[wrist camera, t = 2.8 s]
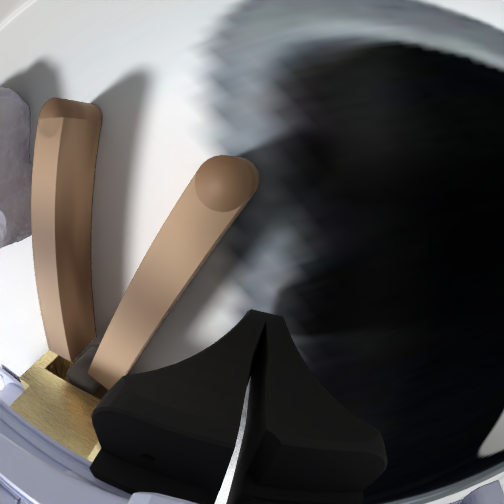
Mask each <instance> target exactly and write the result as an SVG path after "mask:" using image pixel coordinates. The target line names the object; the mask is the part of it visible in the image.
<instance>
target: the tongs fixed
mask: <svg viewBox="0 0 504 504" xmlns="http://www.w3.org/2000/svg"><path fill="white" fill-rule="evenodd" d="M101 123H102V112H101V110H100V108H99V107H98V106H97V105H94V104H89V103H84V102H78V101H73V100H67V99H60V98H52V99H50V100H48V101H47V102H46V103H45V105H44V106H43V108H42V110H41V112H40V115H39V119H38V126H37V132H36V140H35V149H34V159H33V171H32V192H31V224H32V245H33V258H34V268H35V277H36V285H37V292H38V298H39V304H40V310H41V315H42V320H43V325H44V330H45V334H46V339H47V343H48V347H49V350H50V351H52V352H54V353H56V354H57V355H59V356H61V357H63V358H65V359H66V360H68V361H70V362H72V361H73V360H74V359H75V358H76V357H77V355H78V354H79V353H80V352H81V351H82V350H83V349H84V348H85V347H86V346H87V345H88V344H89V343H90V342H91V341H92V340H93V339H94V338H95V337H96V331H95V322H94V312H93V299H92V282H91V214H92V197H93V184H94V173H95V164H96V156H97V149H98V142H99V135H100V129H101ZM98 348H99V346H98V345H93V346H91V347H90V348H89V349H88V350H87V351H86V352H85V353H84V354H83V355H82V356H81V357H80V358H79V359H78V360H77V361H76V362H75V363H74V364H73V366H72V367H71V368H70V369H69V370H68V371H67V372H66V378H65V379H64V380H65V381H66V382H68V383H70V384H72V385H73V386H75V387H77V388H79V389H81V390H83V391H85V392H87V393H89V394H91V395H93V396H95V397H97V398H99V399H101V400H102V398H103V397H104V395H105V394H106V393H107V392H108V389H107V388H105V387H104V386H103V385H101V384H100V383H99V382H98V381H96V380H95V379H94V378H93V377H91V376H90V375H89V374H88V370H89V368H90V366H91V363H92V361H93V359H94V357H95V354H96V352H97V350H98Z"/></svg>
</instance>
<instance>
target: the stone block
mask: <svg viewBox="0 0 504 504" xmlns="http://www.w3.org/2000/svg"><path fill="white" fill-rule="evenodd" d="M29 138H30V110H29V105H27V104H26V103H25V102H24V101H23V100H22V98H21V97H20V96H19V95H18V94H17V93H16V92H15V91H13V90H11V89H10V88H4V87H1V86H0V248H2V247H4V246H7V245H10V244H13V243H14V242H19V241H21V240H23V239H25V238H27V237H29V236H31V235H32V224H31V192H32V171H33V168H32V165H31V163H30V157H29Z"/></svg>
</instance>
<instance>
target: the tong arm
mask: <svg viewBox="0 0 504 504" xmlns="http://www.w3.org/2000/svg"><path fill="white" fill-rule="evenodd" d="M259 183H260V176H259V172H258V170H257V168H256V166H255V165H254V164H253V163H252V162H251V161H249V160H248V159H246V158H243V157H235V156H225V155H220V156H215V157H212V158H210V159H208V160H207V161H205V162H204V163H203V164H202V165H201V166H200V168H199V169H198V171H197V172H196V174H195V175H194V177H193V178H192V180H191V181H190V183H189V184H188V186H187V187H186V189H185V190H184V192H183V194H182V195H181V197H180V198H179V200H178V201H177V203H176V205H175V206H174V208H173V209H172V211H171V213H170V214H169V216H168V218H167V219H166V221H165V223H164V224H163V226H162V227H161V229H160V231H159V233H158V234H157V236H156V238H155V239H154V241H153V243H152V245H151V246H150V248H149V250H148V252H147V253H146V255H145V257H144V259H143V260H142V262H141V264H140V266H139V268H138V269H137V271H136V273H135V275H134V277H133V279H132V281H131V282H130V284H129V286H128V288H127V290H126V292H125V294H124V296H123V298H122V300H121V302H120V304H119V306H118V308H117V310H116V312H115V314H114V316H113V318H112V320H111V322H110V324H109V326H108V328H107V330H106V332H105V335H104V337H103V339H102V341H101V343H100V345H99V348H98V350H97V352H96V354H95V357H94V359H93V361H92V363H91V366H90V368H89V370H88V374H89V375H90V376H91V377H93V378H94V379H95V380H96V381H98V382H99V383H100V384H101V385H103V386H104V387H105V388H107V389H108V390H109V389H110V388H111V387H112V386H113V385H114V384H115V383H116V382H117V381H118V380H119V379H120V378H121V377H122V376H126V375H127V374H128V373H129V371H130V370H131V368H132V367H133V366H134V364H135V363H136V361H137V360H138V358H139V357H140V355H141V353H142V352H143V350H144V349H145V347H146V346H147V344H148V343H149V341H150V340H151V338H152V337H153V336H154V334H155V333H156V331H157V330H158V328H159V327H160V325H161V324H162V322H163V321H164V319H165V318H166V316H167V315H168V313H169V312H170V311H171V309H172V308H173V306H174V305H175V303H176V302H177V300H178V299H179V297H180V296H181V295H182V293H183V292H184V290H185V289H186V287H187V286H188V285H189V283H190V282H191V280H192V279H193V277H194V276H195V275H196V273H197V272H198V270H199V269H200V268H201V266H202V265H203V263H204V262H205V261H206V259H207V258H208V256H209V255H210V254H211V252H212V251H213V249H214V248H215V247H216V245H217V244H218V242H219V241H220V240H221V238H222V237H223V236H224V234H225V233H226V231H227V230H228V229H229V227H230V226H231V225H232V223H233V222H234V221H235V219H236V218H237V217H238V215H239V214H240V212H241V211H242V210H243V208H244V207H245V206H246V204H247V203H248V202H249V200H250V199H251V198H252V196H253V195H254V194H255V192H256V191H257V189H258V187H259Z"/></svg>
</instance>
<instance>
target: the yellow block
mask: <svg viewBox="0 0 504 504" xmlns="http://www.w3.org/2000/svg"><path fill="white" fill-rule="evenodd" d="M72 366H73V365H72V362H70V361H68V360H66V359H65V358H63V357H61V356H59V355H57V354H56V353H54V352H52V351H50V350H49V351H48V352H47V353H45V354H44V355H43V356H42V357H41V358H40V359H39V360H38V361H37V362H36V363H35V364H33V365H32V366H31V367H30V368H29V369H28V370H27V371H26V372H25V373H24V374H23V375H22V376H21V377H20V378H19V379H20V381H21V383H22V386H23V388H24V390H25V391H24V392H23V393H22V394H21V395H20V396H19V397H18V398H17V399H16V400H15V401H14V402H13V403H12V404H11V405H10V406H9V407H11V408H12V409H13V410H14V411H15V412H17V413H18V414H19V415H20V416H22V417H23V418H24V419H26V420H27V421H28V422H30V423H31V424H32V425H34V426H35V427H36V428H38V429H39V430H41V431H42V432H44V433H45V434H46V435H48V436H49V437H51V438H52V439H54V440H56V441H57V442H59V443H60V444H62V445H63V446H65V447H67V448H68V449H70V450H72V451H73V452H75V453H77V454H79V455H80V456H82V457H84V458H86V459H87V460H89V461H91V462H93V461H94V459H95V457H96V456H97V454H98V453H99V451H100V449H101V446H100V443H99V441H98V438H97V435H96V433H95V430H94V427H93V424H92V418H91V415H92V413H93V410H94V409H95V408H96V406H97V405H98V404H99V402H100V401H101V399H99V398H97V397H95V396H93V395H91V394H89V393H87V392H85V391H83V390H81V389H79V388H77V387H75V386H73V385H72V384H70V383H68V382H66V381H65V380H64V379H65V378H66V372H67V371H68V370H69V369H70V368H71V367H72Z"/></svg>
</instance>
